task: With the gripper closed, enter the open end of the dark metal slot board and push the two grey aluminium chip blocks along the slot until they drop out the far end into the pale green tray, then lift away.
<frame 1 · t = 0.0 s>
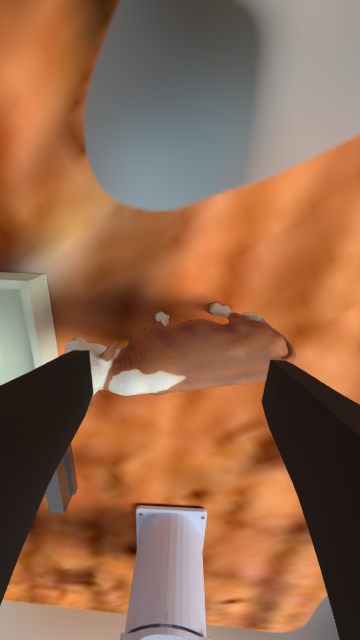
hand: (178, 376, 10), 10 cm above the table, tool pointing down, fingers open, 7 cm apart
bull figurine: (180, 324, 20), on the table
slot board: (26, 441, 25), on the table
tray: (0, 334, 21), on the table
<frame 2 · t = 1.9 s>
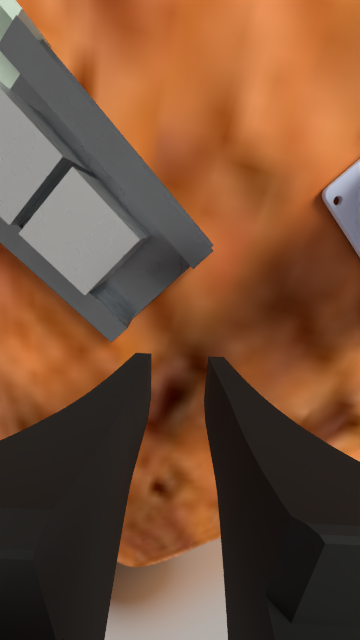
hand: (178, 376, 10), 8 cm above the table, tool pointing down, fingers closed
slot board: (91, 214, 16), on the table
chip b: (45, 171, 14), point 1 cm above the table, touching slot board
chip a: (105, 233, 15), point 1 cm above the table, touching slot board
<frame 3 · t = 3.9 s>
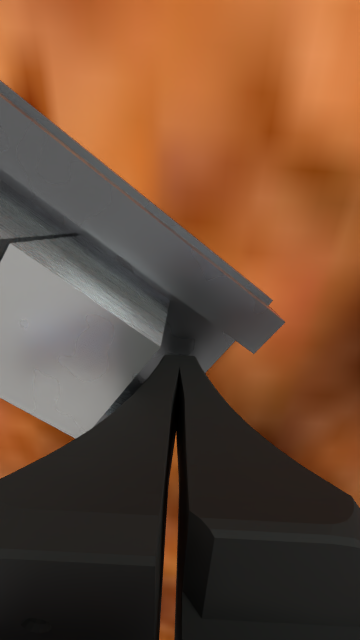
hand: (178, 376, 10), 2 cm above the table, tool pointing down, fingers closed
slot board: (81, 286, 11), on the table
chip b: (1, 244, 9), point 1 cm above the table, touching slot board
chip a: (100, 308, 10), point 1 cm above the table, touching gripper
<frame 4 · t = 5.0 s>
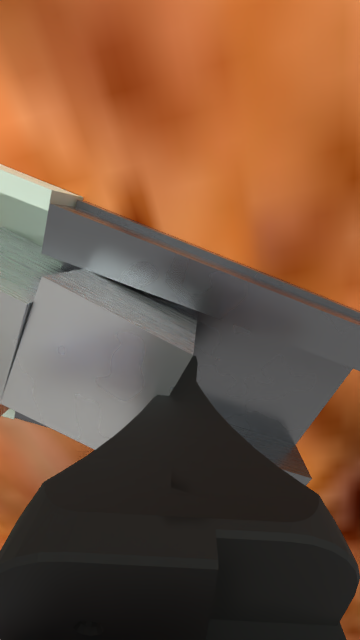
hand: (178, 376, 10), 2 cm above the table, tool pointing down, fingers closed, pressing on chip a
slot board: (197, 352, 12), on the table
chip b: (39, 296, 10), point 1 cm above the table, tilted 6°, touching slot board
chip a: (132, 331, 10), point 1 cm above the table, tilted 7°, touching gripper, slot board
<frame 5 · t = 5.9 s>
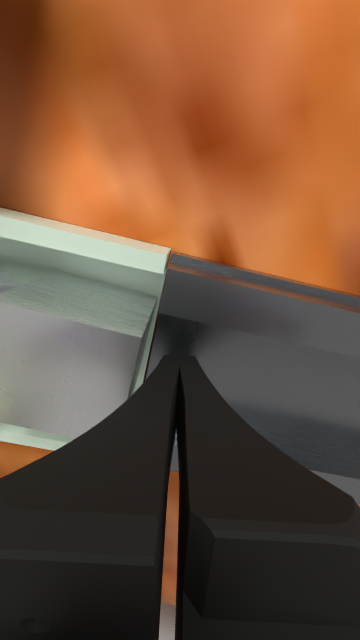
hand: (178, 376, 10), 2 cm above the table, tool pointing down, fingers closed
slot board: (284, 376, 12), on the table
tray: (35, 323, 11), on the table
chip a: (102, 327, 11), resting on tray, touching chip b, gripper
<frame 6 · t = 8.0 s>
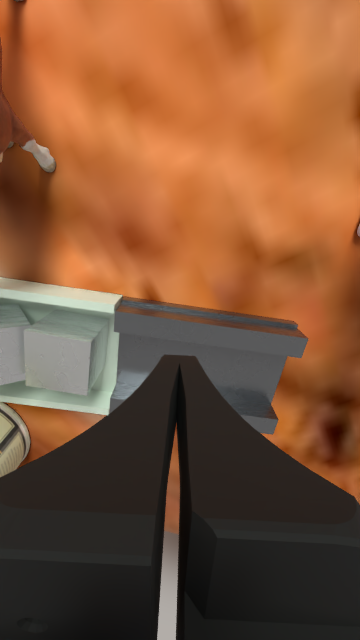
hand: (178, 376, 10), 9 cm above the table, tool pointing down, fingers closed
bull figurine: (18, 108, 15), on the table
slot board: (199, 360, 20), on the table
tray: (53, 340, 20), on the table
chip a: (81, 337, 19), resting on tray
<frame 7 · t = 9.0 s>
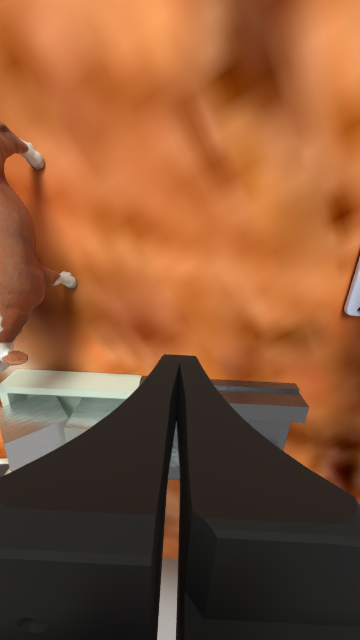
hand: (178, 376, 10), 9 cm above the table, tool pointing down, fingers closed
bull figurine: (43, 243, 18), on the table
slot board: (214, 421, 23), on the table
chip b: (29, 418, 21), point 2 cm above the table, tilted 42°, touching tray
tray: (84, 414, 23), on the table
chip a: (109, 412, 22), resting on tray
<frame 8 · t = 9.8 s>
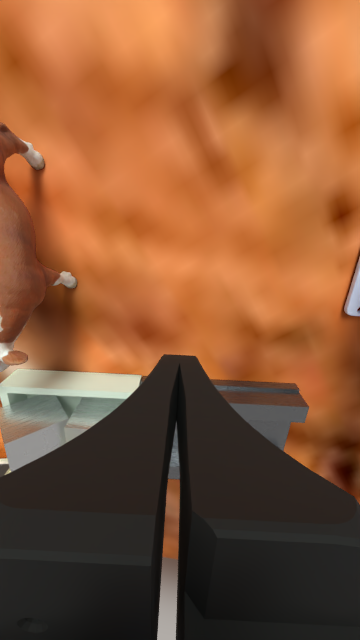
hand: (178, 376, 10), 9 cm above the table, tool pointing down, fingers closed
bull figurine: (43, 243, 18), on the table
slot board: (214, 421, 23), on the table
chip b: (29, 418, 21), point 2 cm above the table, tilted 42°, touching tray
tray: (84, 414, 23), on the table
chip a: (109, 412, 22), resting on tray
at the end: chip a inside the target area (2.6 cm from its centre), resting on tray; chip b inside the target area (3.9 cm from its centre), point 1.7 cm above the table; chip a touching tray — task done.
